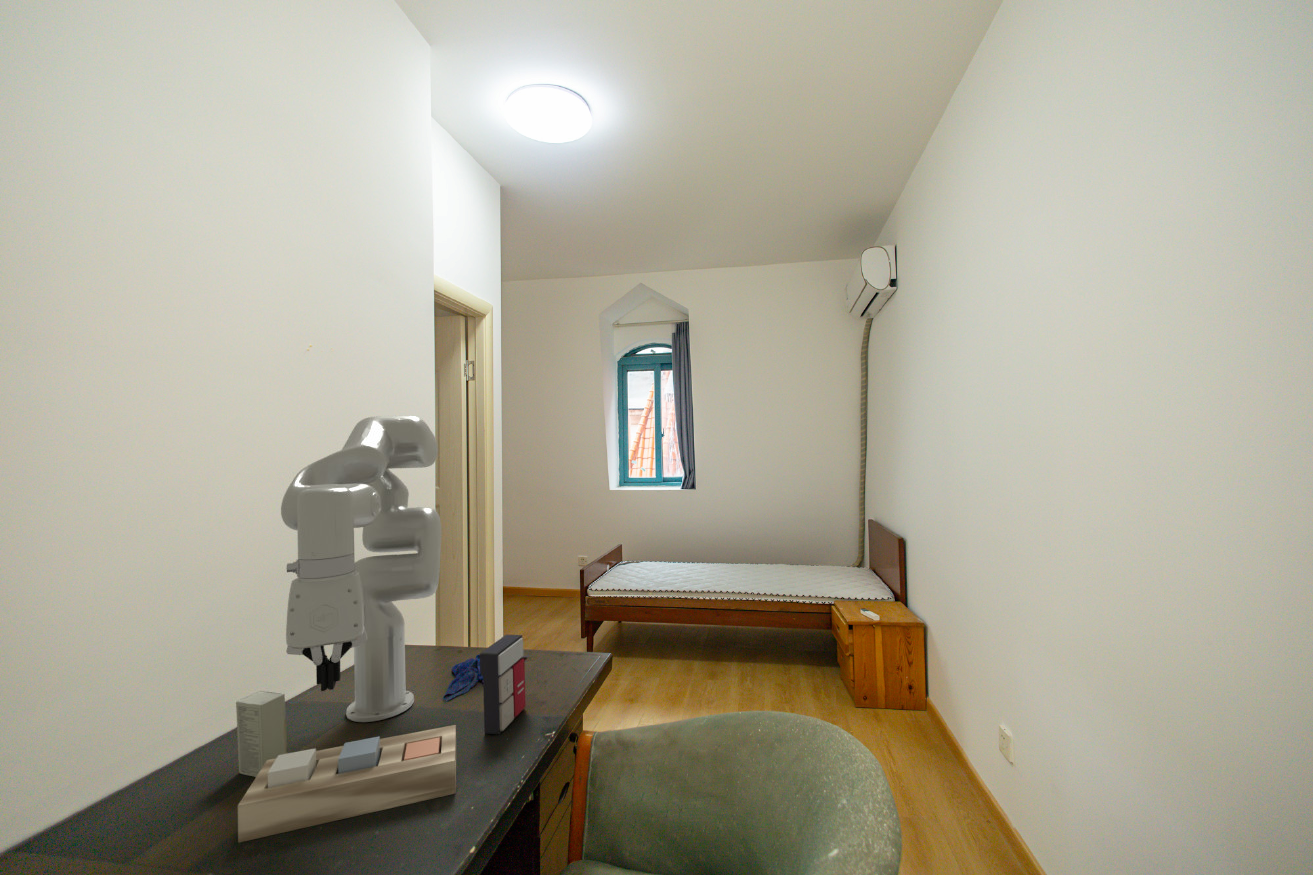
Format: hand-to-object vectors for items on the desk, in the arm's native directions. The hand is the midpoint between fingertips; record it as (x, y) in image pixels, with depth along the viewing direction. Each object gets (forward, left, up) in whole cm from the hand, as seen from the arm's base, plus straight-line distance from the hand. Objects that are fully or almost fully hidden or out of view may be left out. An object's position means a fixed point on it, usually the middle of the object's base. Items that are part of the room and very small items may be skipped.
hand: (328, 686), depth 84 cm
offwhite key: (0, -5, -13) cm, 14 cm away
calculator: (-15, +27, -17) cm, 36 cm away
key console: (0, +4, -17) cm, 18 cm away
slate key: (0, +4, -13) cm, 14 cm away
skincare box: (-14, -13, -17) cm, 26 cm away
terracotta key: (0, +13, -15) cm, 20 cm away
